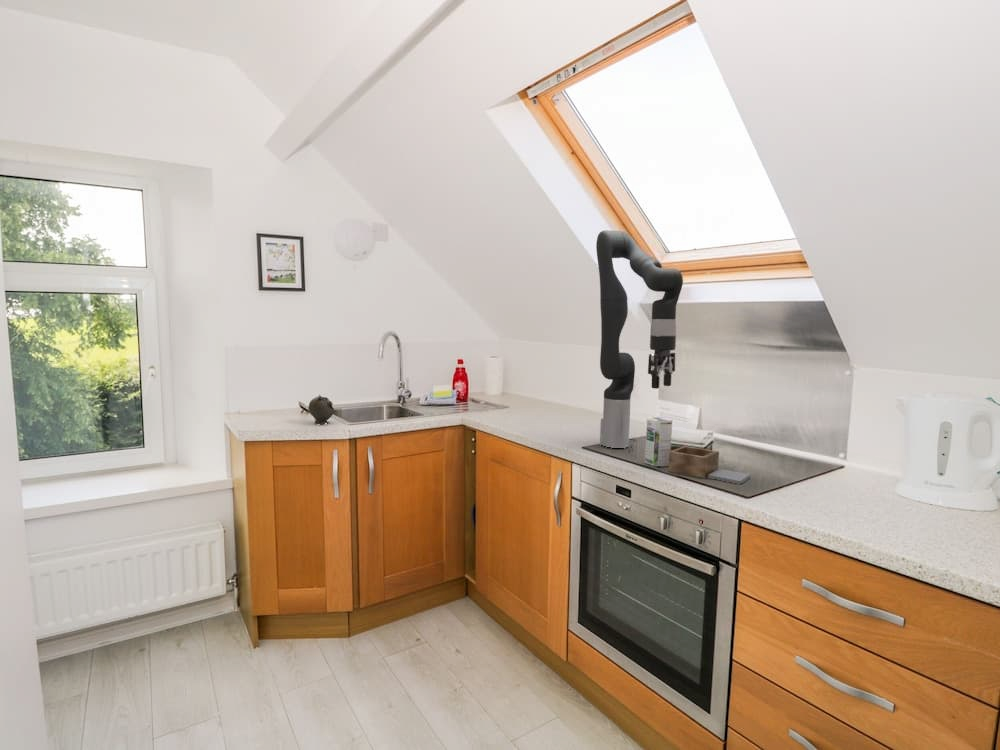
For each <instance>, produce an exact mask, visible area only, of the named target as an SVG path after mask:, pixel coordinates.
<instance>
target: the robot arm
mask: <svg viewBox="0 0 1000 750" xmlns="http://www.w3.org/2000/svg"><path fill="white" fill-rule="evenodd" d="M595 246H596V257H597V265H598V273H599V274H598V275H599V291H600V295H599V297H600V298H599V299H600V300H599V302H600V317H601V318H600V319H601V320H600V321H601V324H600V326H601V327H600V329H601V330H600V331H601V335H600V336H601V342H600V355H599V356H600V357H599V368H600V371H601V374H602V377H604V378H605V379H606V380H612V381H611V383H610V384H609V386H608V387H606V389H605V390H604V391H603V411H602V412H603V413H602V416H603V417H602V418H601V419H600V430H599V446H601V445H603V446H602V447H604V446H606V447H605V448H607V447H611V448H610V449H612V448H624V449H627V448H626V447H628V446H630V445H629V444H630V426H631V425H630V422H631V421H630V420H631V419H630V418H631V397H632V396H631V395H632V393H633V391H634V384H635V372H636V365H635V361H634V360H635V359H634V358H633V356H632V355H631V354H630V353H628V352H620V337H621V333H622V330H623V328H624V326H625V324H626V320H627V318H628V312H629V311H628V294H627V291H626V290H625V288H624V286H623V284H622V283H621V281H620V279H619V278H618V276H617V273H616V272H615V269H614V264H613V259H620V258H622V259H626V260H628V261H629V265H630V268H631V270H632V271H633V273H634V274H636V275H637V276H639V277H640V278H641V279H642V280H643V282H644V283H645V285H646V287H647V288H648V289H649V290H651V291H654V292H662V293H663V292H664V294H663V296H662V298H661V299H657V300H655V301H653V302H652V306H651V321H650V332H649V333H650V336H649V338H650V340H649V349H650V350H652V351H654V352H653V353H649V354H648V365H647V374H648V375H650V376H651V388H652V389H659V388H660V380H661V379H660V378H661V376H660V375H661V373H662V371H663V373H664V374H663V386H664V387H670V386H672V374H673V372H675V371H676V353H675V352H671V351H675V350H676V344H677V343H676V342H677V339H676V338H677V322H676V321H677V320H676V319H677V318H676V316H677V315H676V314H677V305H678V301H679V298H680V295H681V291H682V288H683V285H684V284H683V283H684V278H683V274H682V272H681V271H680V270H679V269H676V268H667V267H666V268H665V267H663V266H662V264H661V262H660V261H659V260H657V259H656V258H654V257H653V256H651V255H650V254H649V253H648V252H646V251H644V249H642V247H641V246H640V245H639V244H638V242H636V240H634V238H633V237H632V236H631V235H630V234H629V233H627V232H626V231H623V230H605V229H604V230H602V231H600V232H599V233H598V234H597V238H596V245H595ZM628 448H629V447H628Z"/></svg>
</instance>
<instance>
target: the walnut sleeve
mask: <svg viewBox="0 0 1000 750" xmlns="http://www.w3.org/2000/svg"><path fill="white" fill-rule="evenodd" d="M719 457H720V451H719V450H712V449H706V448H701V447H694V446H687V445H683V446H681V447H677V448H675V449H673V450H671V451H670V452H669V466H668V472H669V471H671V472H670V473H674V472H676V473H675V474H679V473H681V474H680V475H684V474H685V476H689V475H691V477H694V476H696V477H695V478H699V477H702V478H701V479H706V478H708V474H710V473H712V472H714V471H716V470H718V469H719ZM705 477H706V478H705Z"/></svg>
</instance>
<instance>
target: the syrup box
mask: <svg viewBox="0 0 1000 750" xmlns="http://www.w3.org/2000/svg"><path fill="white" fill-rule="evenodd" d="M672 428H673V420H672V419H666V418H664V417H657V416H654V417H653V416H652V417H647V418H646V432H645V433H646V435H645V453H644V463H645V464H647V465H649V464H650V465H649V466H652V467H654V466H655V467H654V468H658V467H657V466H661V467H669V452H670V451H672V433H673V432H672V431H673V429H672Z"/></svg>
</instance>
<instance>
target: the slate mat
mask: <svg viewBox="0 0 1000 750" xmlns="http://www.w3.org/2000/svg"><path fill="white" fill-rule="evenodd" d="M709 478H711V479H710V480H714V479H717V480H716V481H719V480H721V481H720V482H724V481H726V483H729V482H732V483H731V484H735V483H736V484H737V485H742V484H743V483H745V482H746V481H748V480H749V479H751V474H750V473H745V472H739V471H733V470H729V469H728V470H727V469H722V468H718V470H716V471H714V472H712V473H710V474H708V477H707V479H709ZM741 483H742V484H741Z"/></svg>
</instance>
